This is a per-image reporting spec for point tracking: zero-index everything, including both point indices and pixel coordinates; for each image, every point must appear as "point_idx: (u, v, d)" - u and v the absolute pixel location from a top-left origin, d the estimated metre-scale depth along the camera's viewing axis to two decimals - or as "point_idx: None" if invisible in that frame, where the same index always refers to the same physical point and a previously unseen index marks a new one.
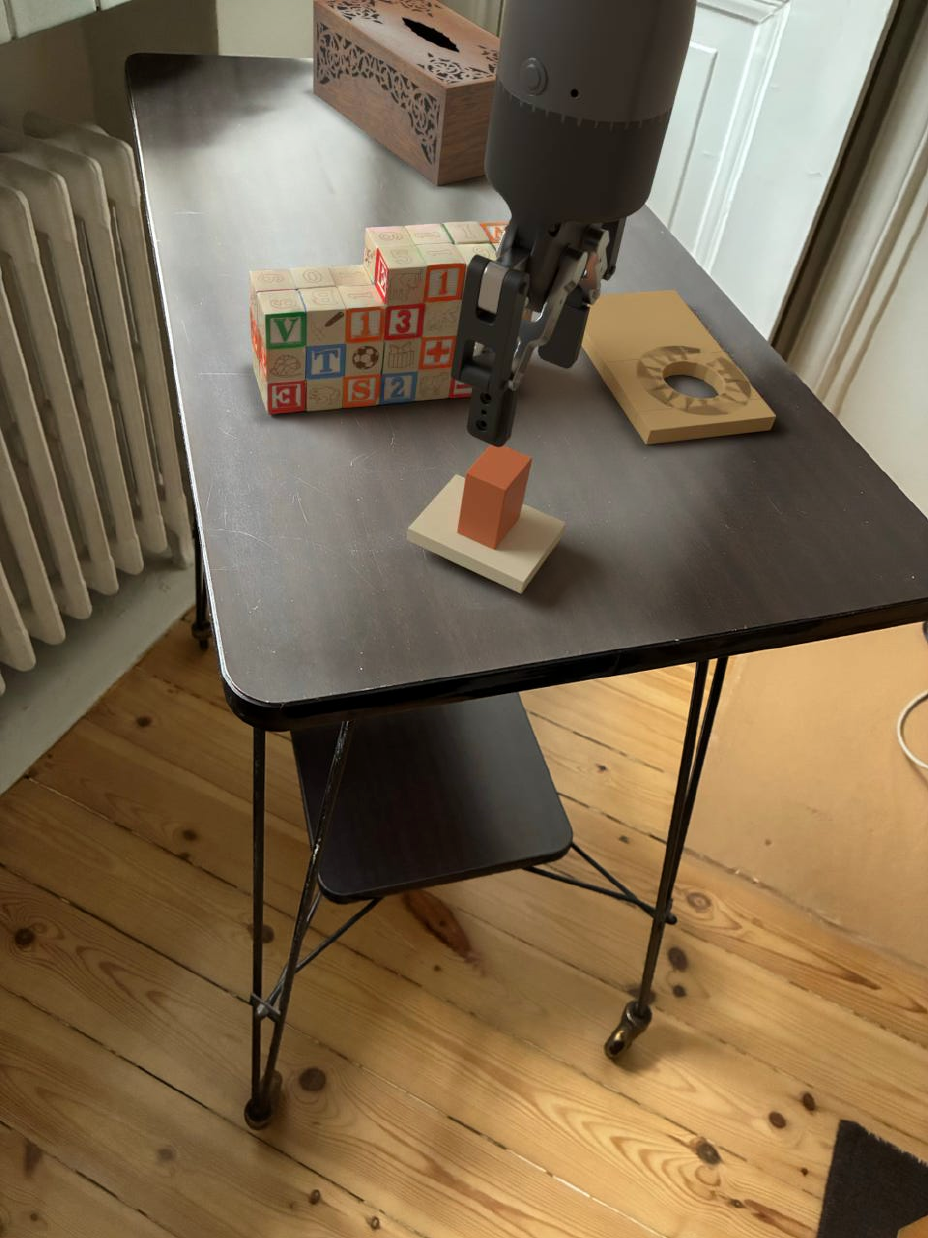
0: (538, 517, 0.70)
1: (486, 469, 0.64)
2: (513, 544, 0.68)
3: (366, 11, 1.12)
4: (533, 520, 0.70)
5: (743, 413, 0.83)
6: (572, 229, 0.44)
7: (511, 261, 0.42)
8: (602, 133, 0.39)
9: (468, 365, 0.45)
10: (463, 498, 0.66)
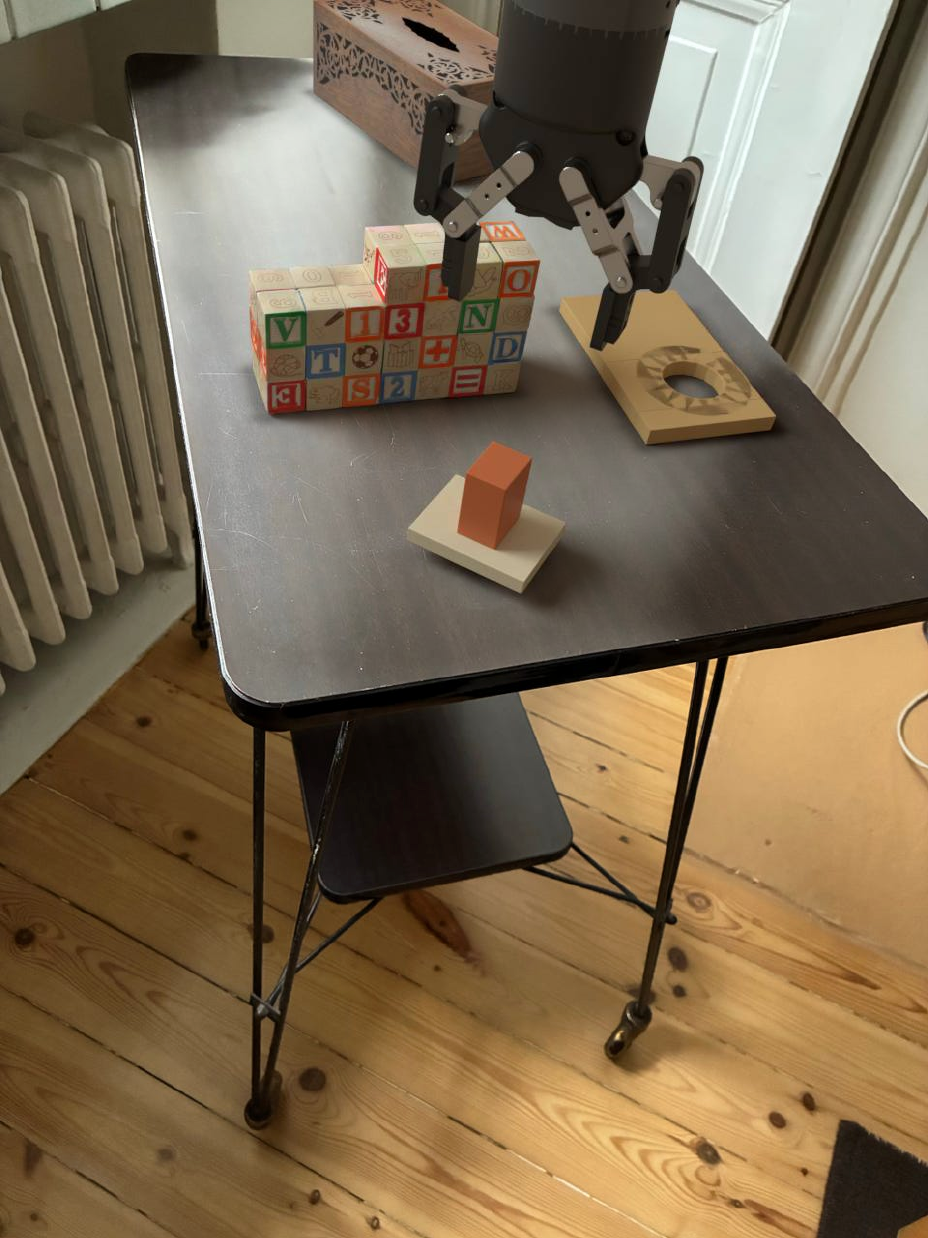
0: (538, 517, 0.70)
1: (486, 469, 0.64)
2: (513, 544, 0.68)
3: (366, 11, 1.12)
4: (533, 520, 0.70)
5: (743, 413, 0.83)
6: (537, 131, 0.47)
7: (464, 102, 0.48)
8: (506, 5, 0.43)
9: None
10: (463, 498, 0.66)
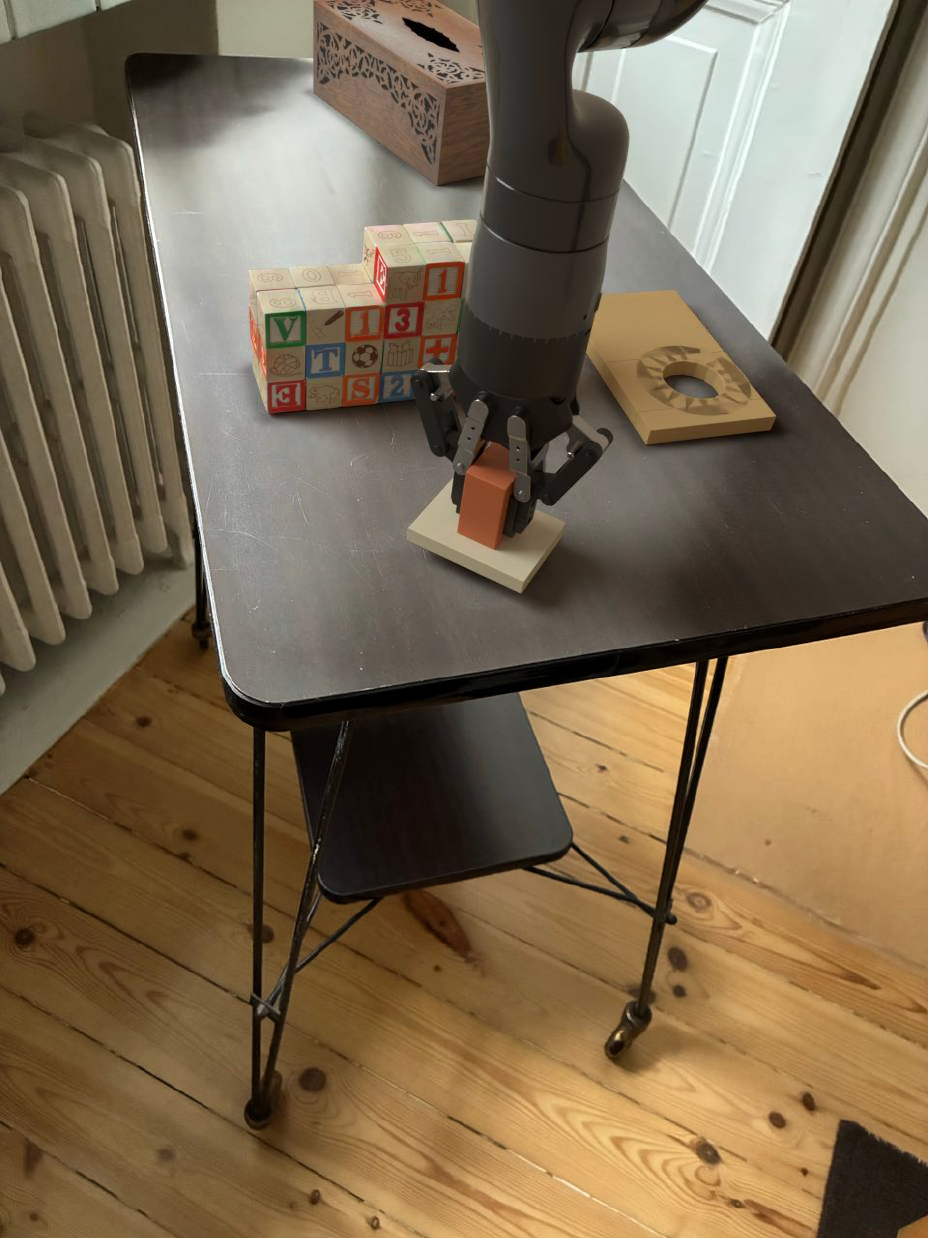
0: (538, 517, 0.70)
1: (486, 469, 0.64)
2: (513, 544, 0.68)
3: (366, 11, 1.12)
4: (533, 520, 0.70)
5: (743, 413, 0.83)
6: None
7: (436, 368, 0.62)
8: (464, 305, 0.56)
9: (447, 428, 0.66)
10: (463, 498, 0.66)
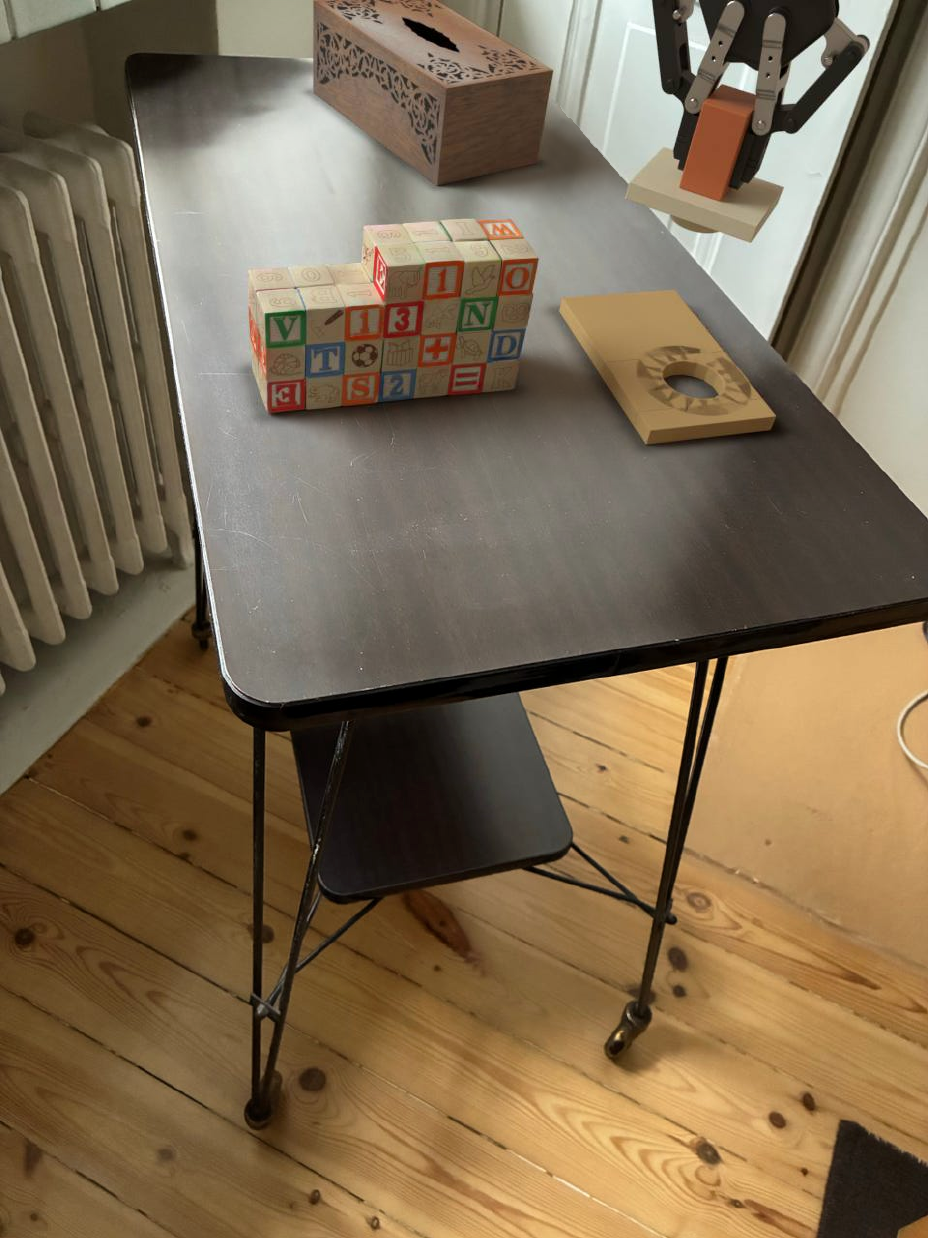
0: (755, 181, 0.68)
1: (723, 101, 0.62)
2: (737, 199, 0.66)
3: (366, 11, 1.12)
4: (751, 183, 0.68)
5: (743, 413, 0.83)
6: None
7: None
8: None
9: None
10: (694, 138, 0.63)
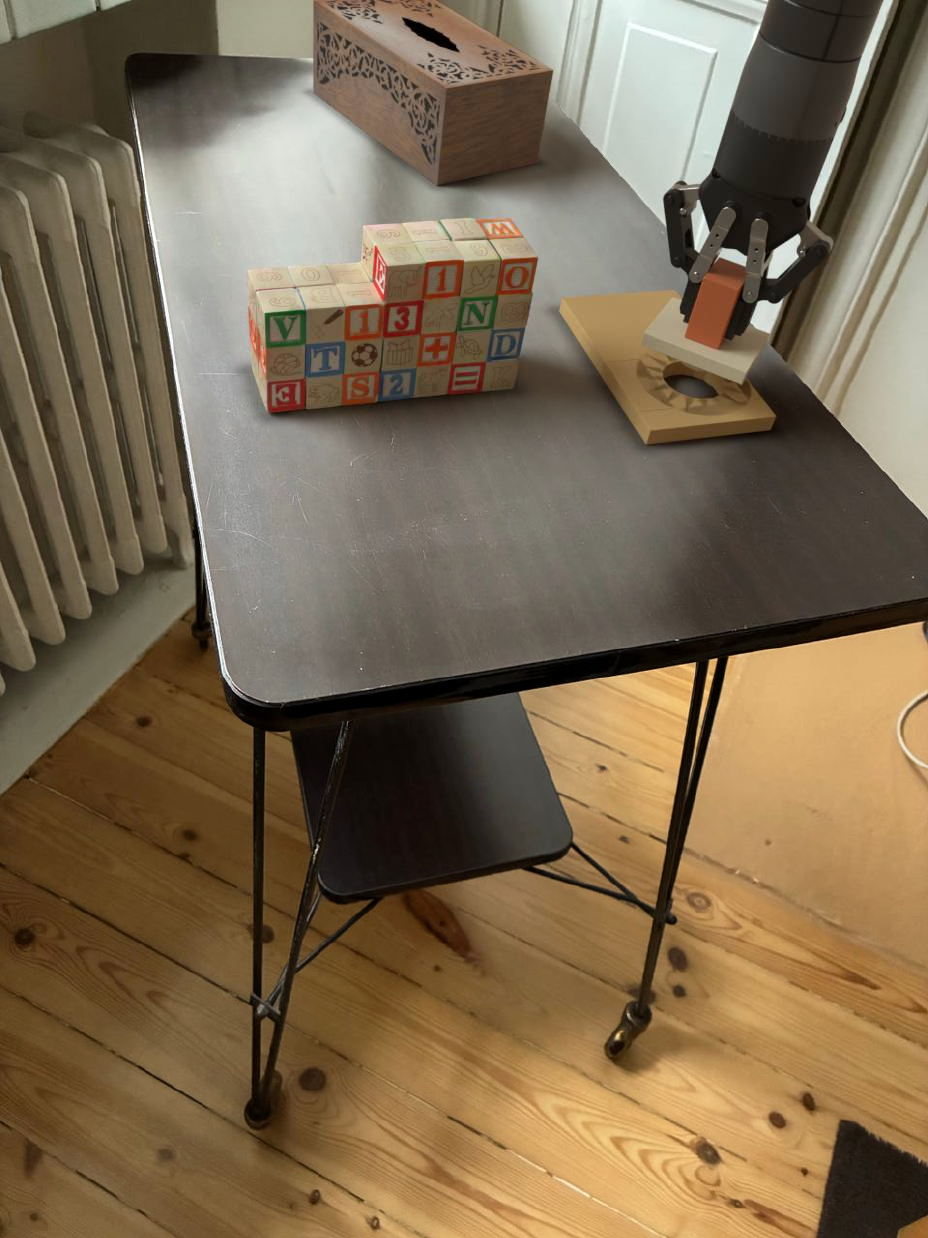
0: (747, 329, 0.83)
1: (719, 275, 0.78)
2: (731, 346, 0.81)
3: (366, 11, 1.12)
4: None
5: (743, 413, 0.83)
6: (739, 195, 0.73)
7: (686, 187, 0.75)
8: (732, 119, 0.69)
9: None
10: (696, 302, 0.79)
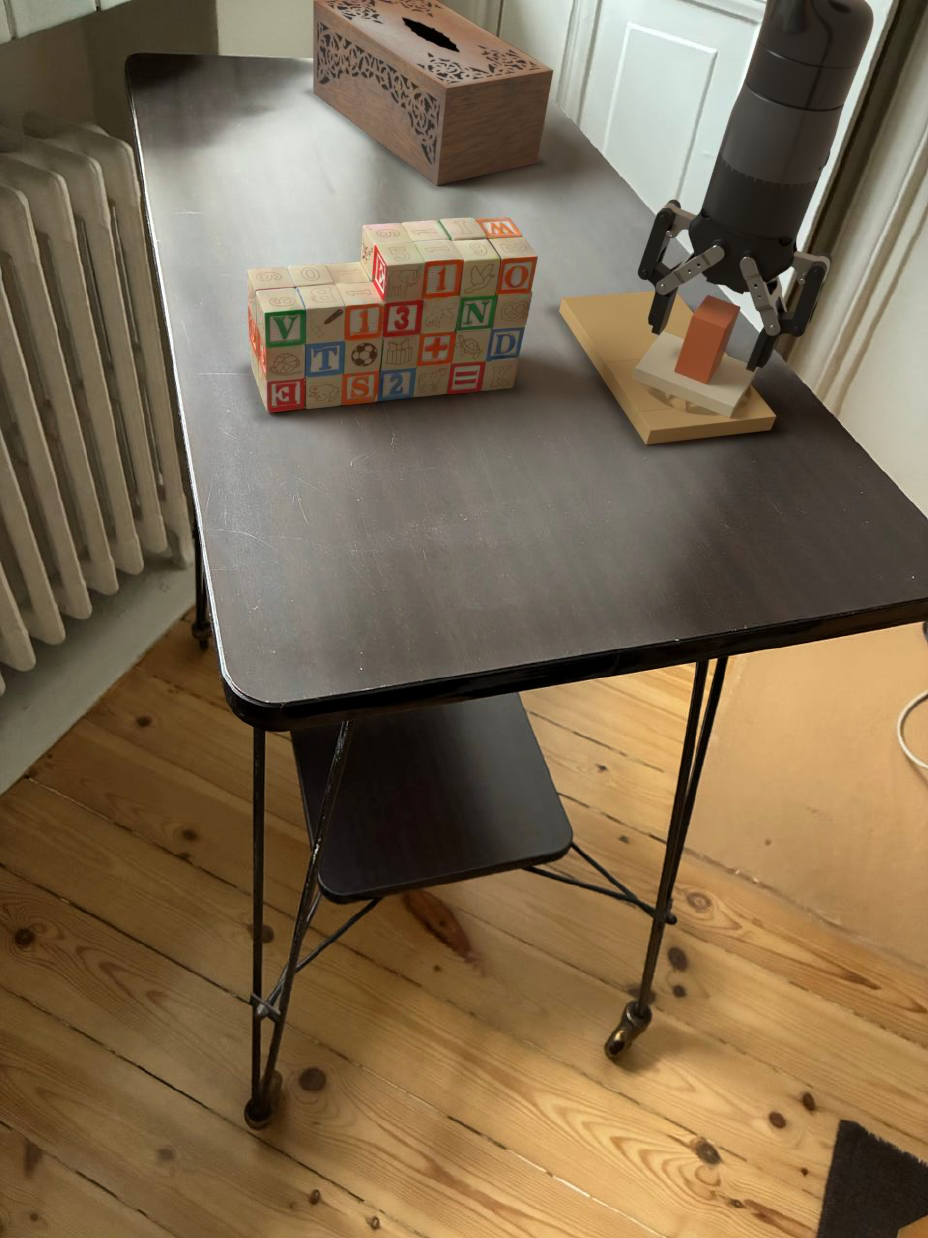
0: (735, 362, 0.86)
1: (707, 313, 0.80)
2: (720, 381, 0.84)
3: (366, 11, 1.12)
4: (732, 364, 0.86)
5: (743, 413, 0.83)
6: (728, 234, 0.75)
7: (680, 212, 0.77)
8: (719, 162, 0.71)
9: None
10: (685, 339, 0.81)
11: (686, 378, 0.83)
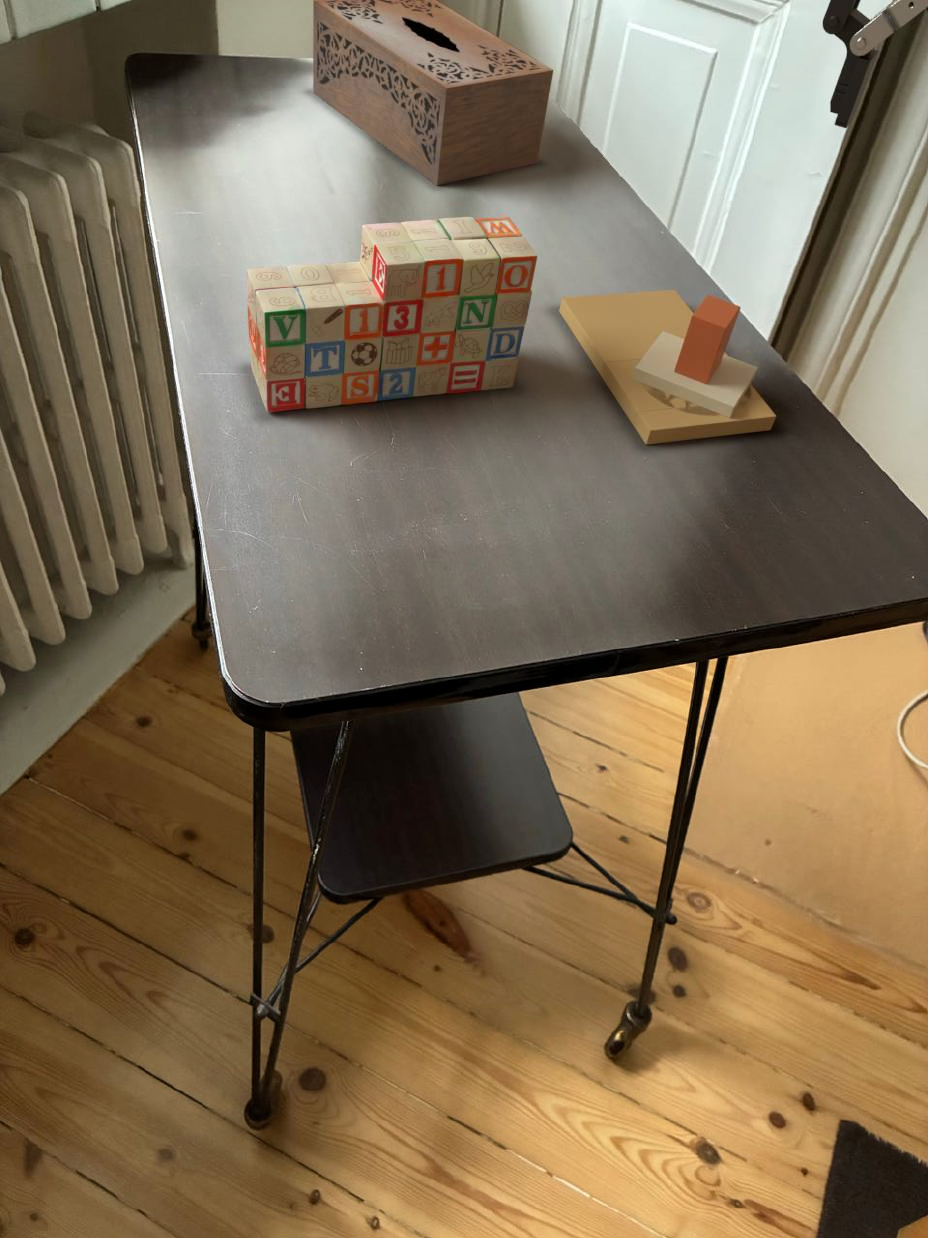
0: (735, 362, 0.86)
1: (707, 313, 0.80)
2: (720, 381, 0.84)
3: (366, 11, 1.12)
4: (732, 364, 0.86)
5: (743, 413, 0.83)
6: None
7: None
8: None
9: None
10: (685, 339, 0.81)
11: (686, 378, 0.83)
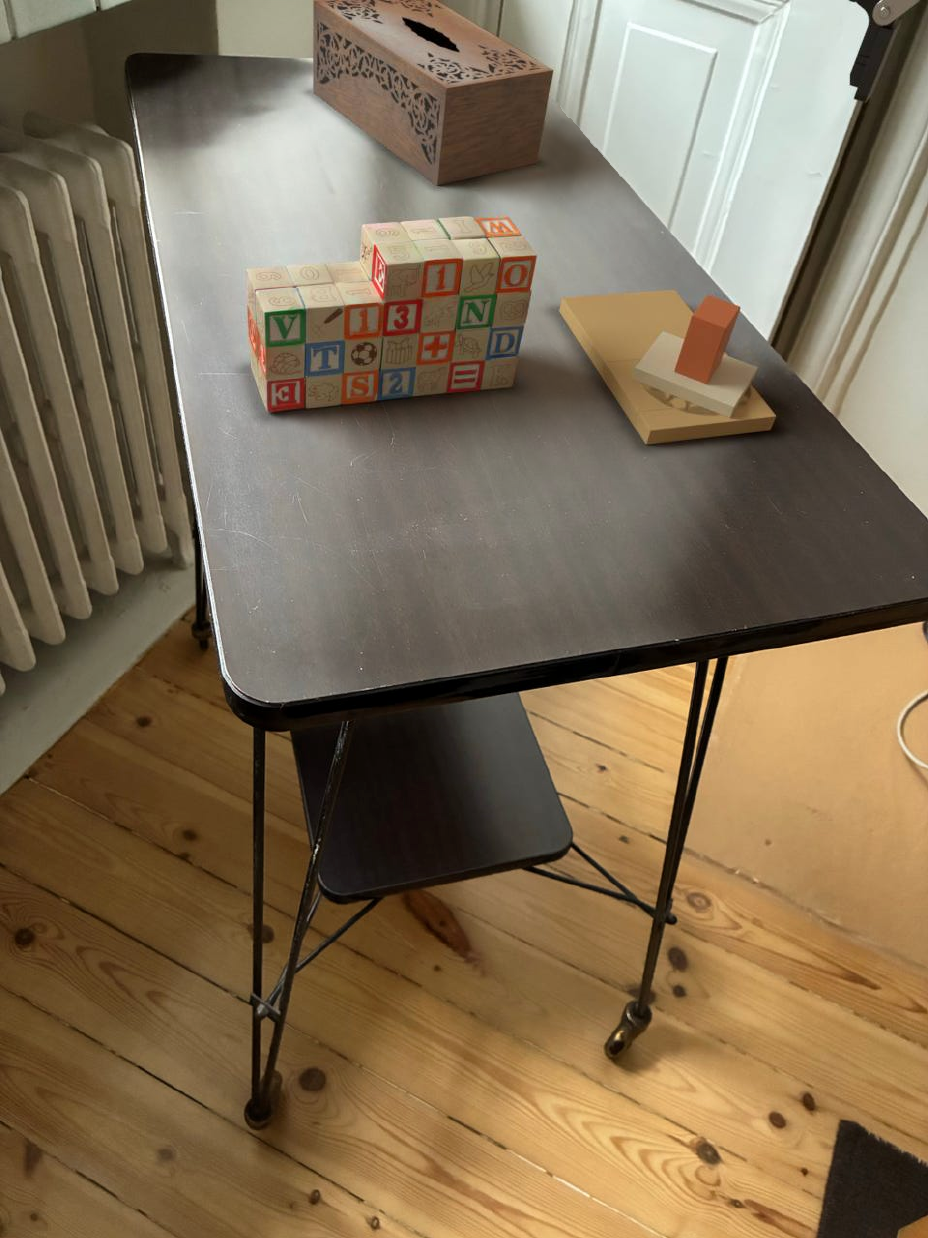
0: (735, 362, 0.86)
1: (707, 313, 0.80)
2: (720, 381, 0.84)
3: (366, 11, 1.12)
4: (732, 364, 0.86)
5: (743, 413, 0.83)
6: None
7: None
8: None
9: None
10: (685, 339, 0.81)
11: (686, 378, 0.83)
